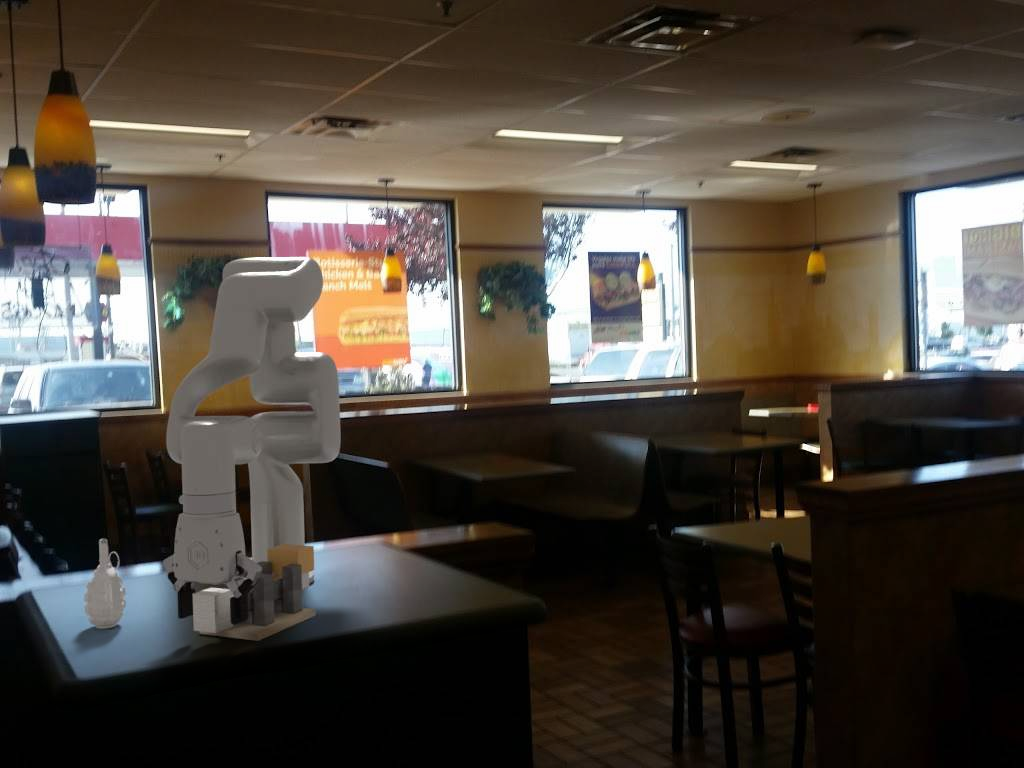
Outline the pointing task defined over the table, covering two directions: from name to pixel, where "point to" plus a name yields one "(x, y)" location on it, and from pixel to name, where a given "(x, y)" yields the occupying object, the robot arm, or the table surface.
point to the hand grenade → (105, 592)
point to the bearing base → (266, 630)
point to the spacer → (291, 557)
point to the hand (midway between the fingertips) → (212, 619)
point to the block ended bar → (226, 605)
